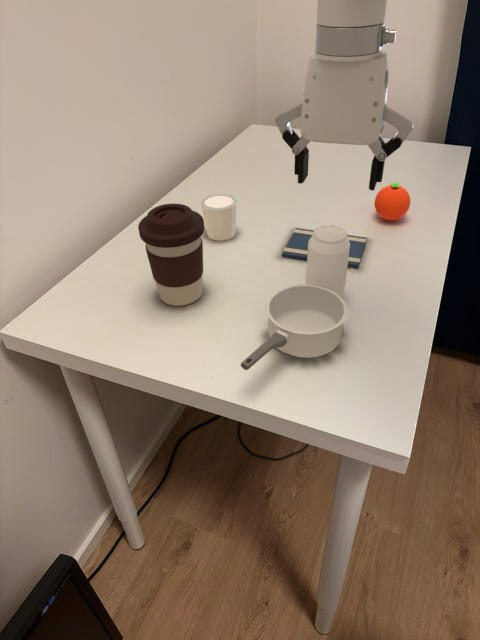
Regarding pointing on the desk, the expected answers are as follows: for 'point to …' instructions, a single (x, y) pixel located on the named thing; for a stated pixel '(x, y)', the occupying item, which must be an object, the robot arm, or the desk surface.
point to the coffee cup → (174, 251)
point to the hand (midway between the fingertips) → (337, 183)
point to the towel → (299, 247)
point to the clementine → (392, 202)
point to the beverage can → (328, 258)
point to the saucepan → (302, 322)
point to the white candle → (220, 216)
